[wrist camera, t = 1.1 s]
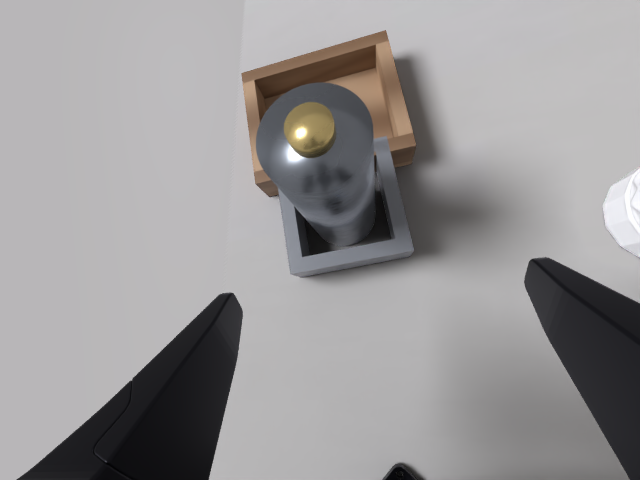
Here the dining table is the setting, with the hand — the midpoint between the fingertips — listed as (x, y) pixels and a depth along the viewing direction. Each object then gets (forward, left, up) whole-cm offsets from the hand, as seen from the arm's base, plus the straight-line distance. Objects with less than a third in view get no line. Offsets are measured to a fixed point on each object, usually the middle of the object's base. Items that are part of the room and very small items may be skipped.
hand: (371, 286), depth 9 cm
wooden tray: (+9, +12, -14) cm, 20 cm away
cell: (+3, +6, -14) cm, 15 cm away
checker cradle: (+3, +6, -14) cm, 15 cm away
